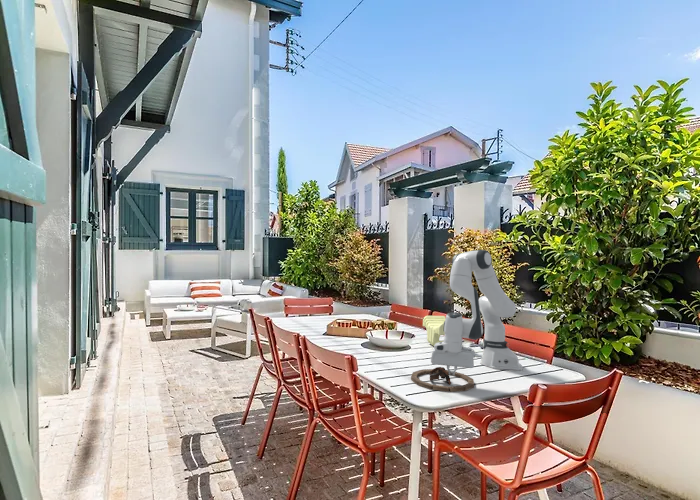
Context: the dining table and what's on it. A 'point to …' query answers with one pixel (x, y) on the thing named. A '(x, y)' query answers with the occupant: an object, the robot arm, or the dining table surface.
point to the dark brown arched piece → (439, 374)
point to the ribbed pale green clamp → (434, 328)
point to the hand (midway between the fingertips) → (451, 374)
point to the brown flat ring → (440, 388)
